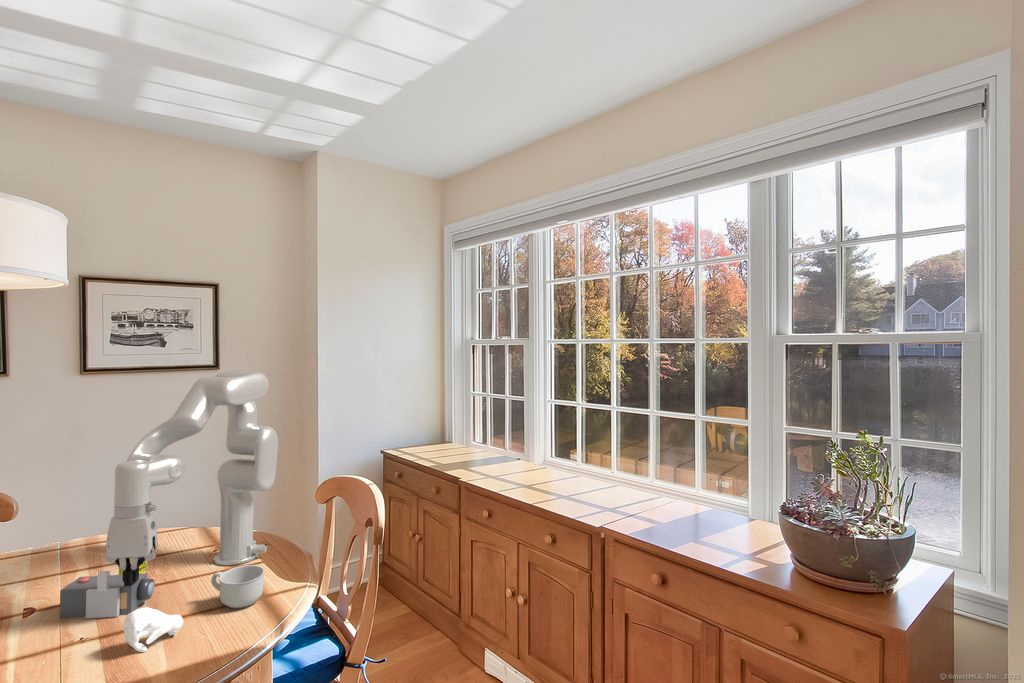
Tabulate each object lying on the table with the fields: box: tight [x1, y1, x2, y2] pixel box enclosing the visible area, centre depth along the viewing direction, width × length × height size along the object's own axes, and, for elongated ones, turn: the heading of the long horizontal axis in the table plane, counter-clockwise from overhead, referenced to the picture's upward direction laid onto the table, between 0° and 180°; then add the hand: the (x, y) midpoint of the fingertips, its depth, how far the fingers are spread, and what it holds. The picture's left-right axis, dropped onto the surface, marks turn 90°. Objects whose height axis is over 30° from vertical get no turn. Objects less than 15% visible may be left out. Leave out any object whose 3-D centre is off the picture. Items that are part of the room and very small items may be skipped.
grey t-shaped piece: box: [85, 570, 120, 619], centre depth 135 cm, size 7×1×11 cm, turn 100°
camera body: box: [59, 573, 155, 620], centre depth 139 cm, size 18×8×8 cm, turn 100°
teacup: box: [210, 564, 265, 609], centre depth 144 cm, size 14×11×8 cm
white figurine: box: [122, 607, 184, 653], centre depth 124 cm, size 6×8×12 cm
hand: (130, 584), depth 136 cm, fingers closed
